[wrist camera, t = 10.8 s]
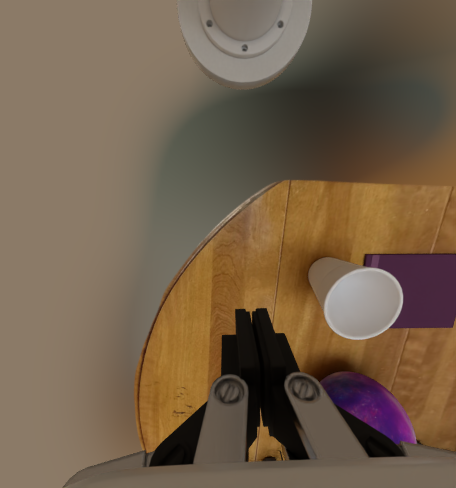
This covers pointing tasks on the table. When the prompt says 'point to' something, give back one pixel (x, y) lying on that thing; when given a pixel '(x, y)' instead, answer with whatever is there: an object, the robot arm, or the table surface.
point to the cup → (355, 297)
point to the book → (422, 287)
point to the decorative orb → (370, 404)
